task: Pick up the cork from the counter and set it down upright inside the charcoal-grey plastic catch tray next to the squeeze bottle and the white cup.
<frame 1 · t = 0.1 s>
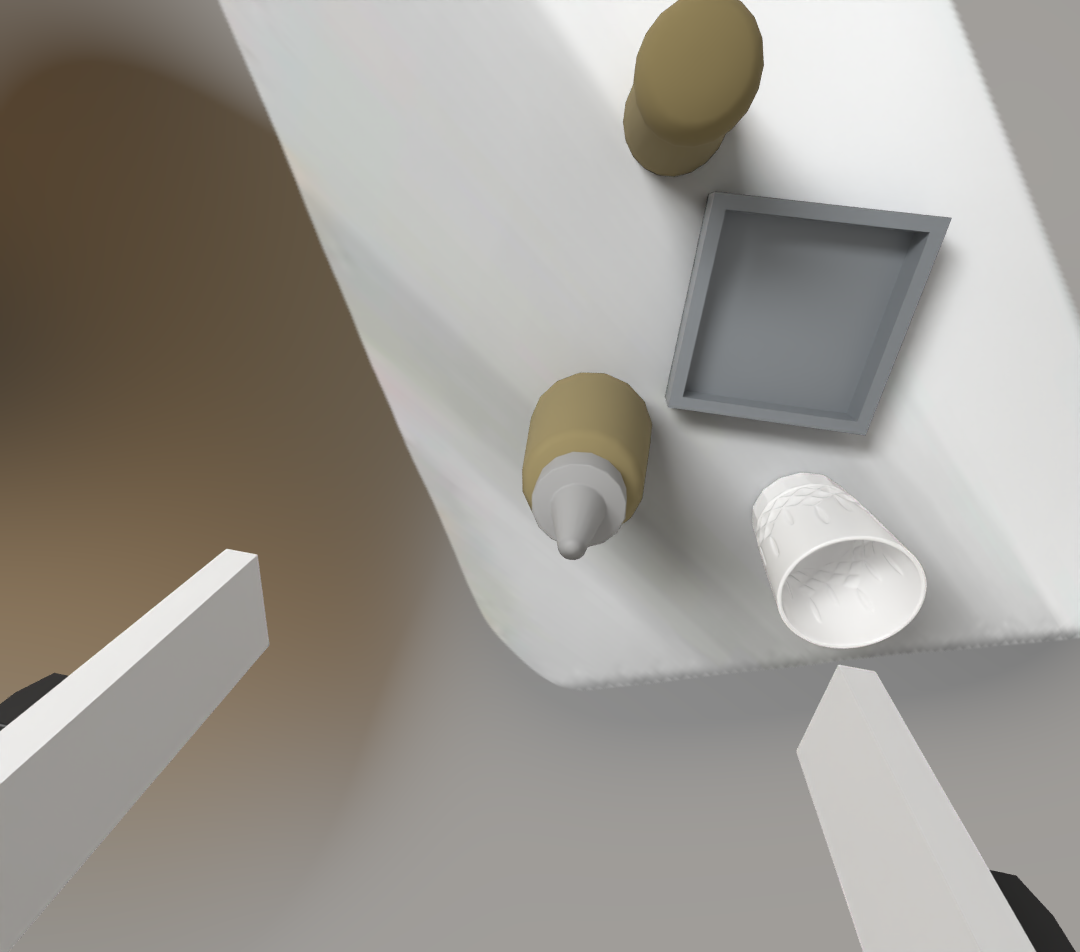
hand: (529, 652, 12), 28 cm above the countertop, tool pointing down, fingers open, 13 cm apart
cork: (676, 117, 31), on the countertop
white cup: (797, 511, 40), on the countertop
catch tray: (784, 315, 34), on the countertop
squeeze bottle: (593, 414, 39), on the countertop
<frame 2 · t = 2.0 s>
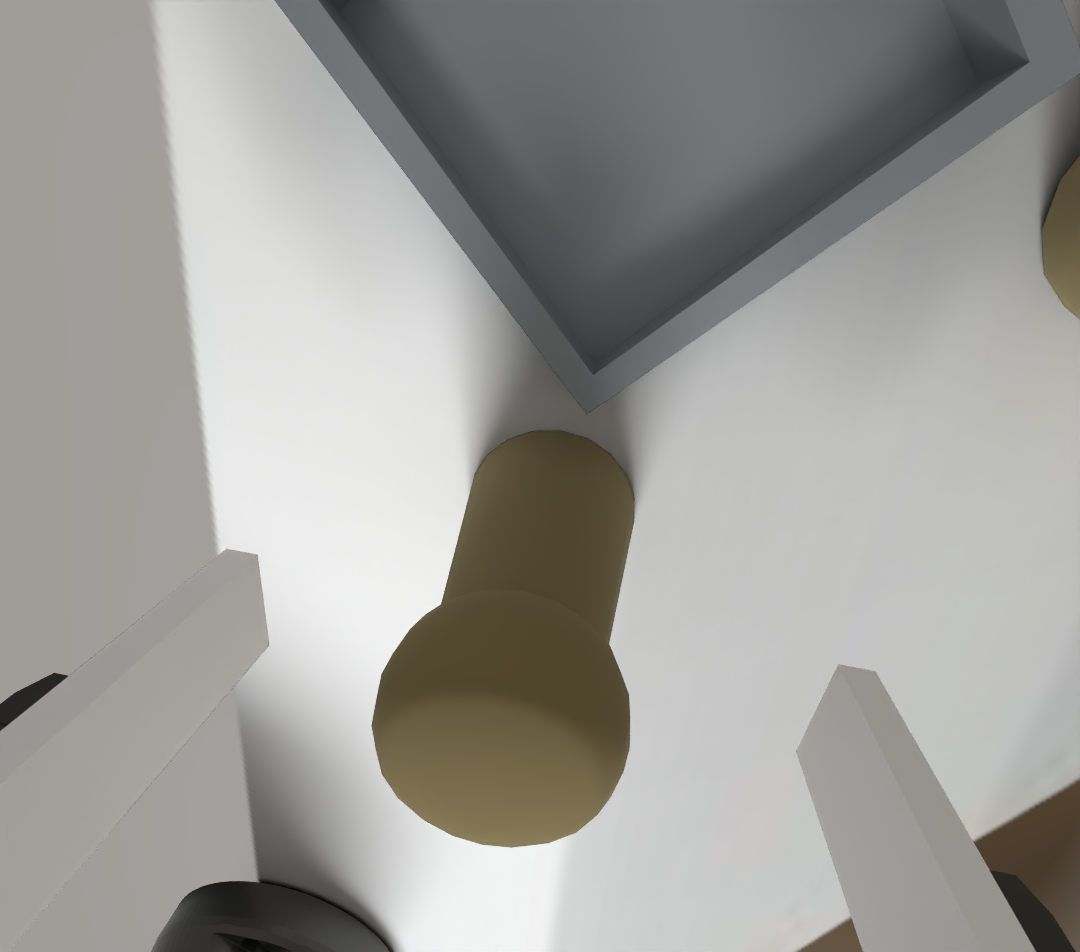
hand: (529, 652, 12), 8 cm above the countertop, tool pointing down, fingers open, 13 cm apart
cork: (551, 506, 20), on the countertop
catch tray: (645, 56, 14), on the countertop
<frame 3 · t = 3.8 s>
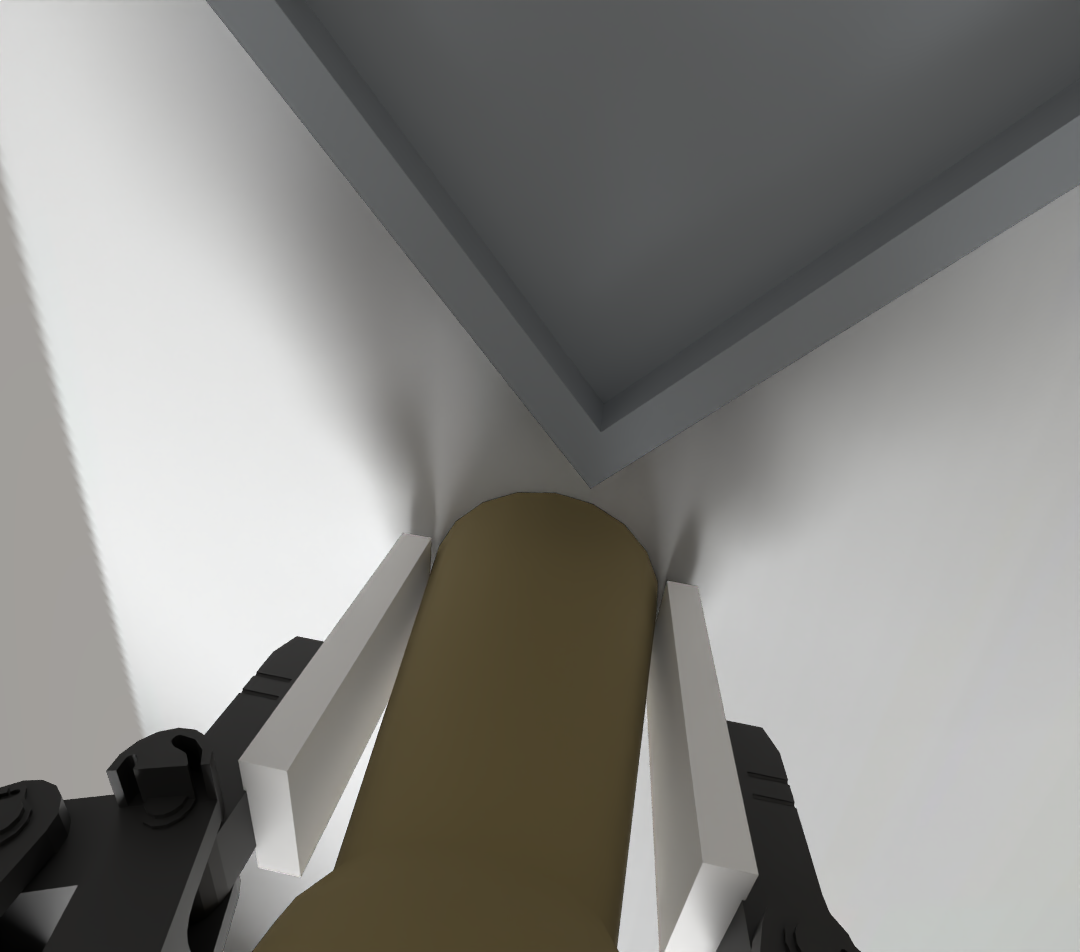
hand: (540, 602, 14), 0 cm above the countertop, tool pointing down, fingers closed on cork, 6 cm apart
cork: (543, 588, 14), on the countertop, touching gripper
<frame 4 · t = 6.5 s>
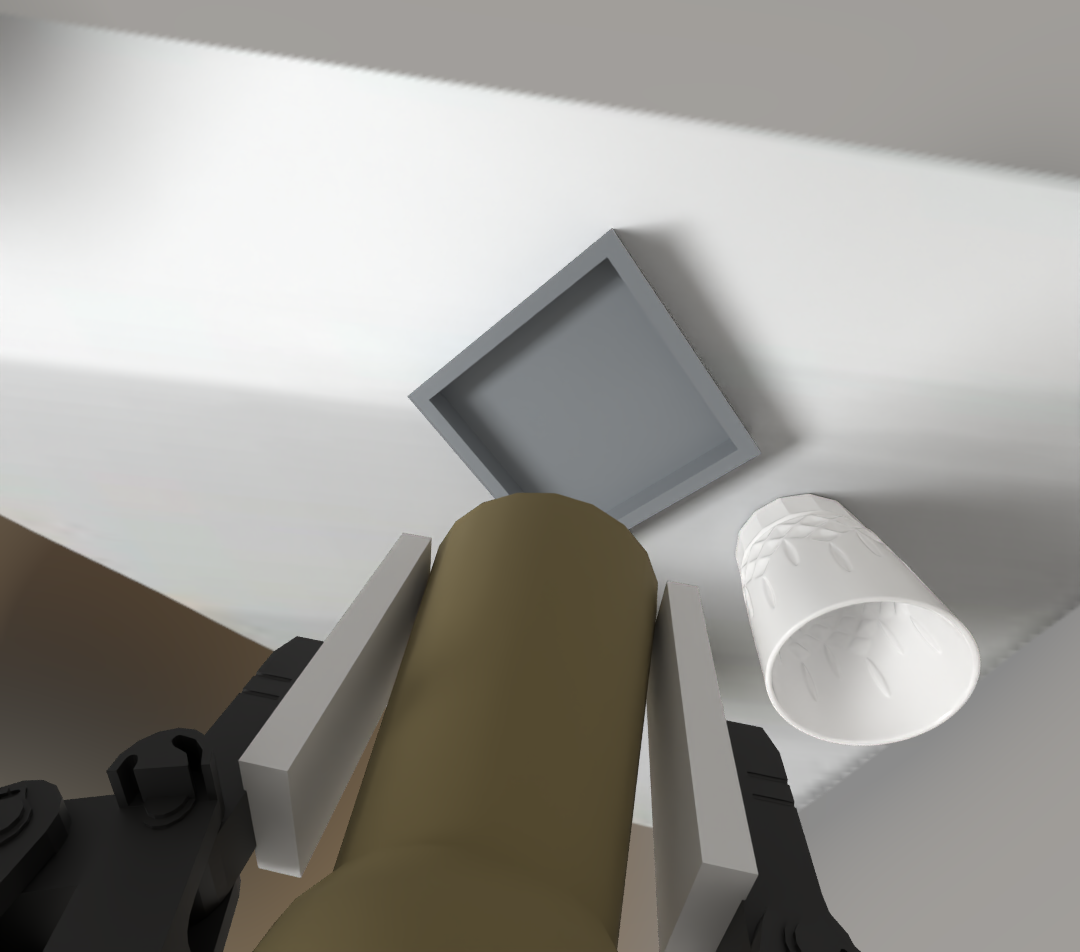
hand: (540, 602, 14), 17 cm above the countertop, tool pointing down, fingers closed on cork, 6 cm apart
cork: (543, 588, 14), point 16 cm above the countertop, touching gripper
white cup: (795, 543, 31), on the countertop
catch tray: (583, 409, 29), on the countertop
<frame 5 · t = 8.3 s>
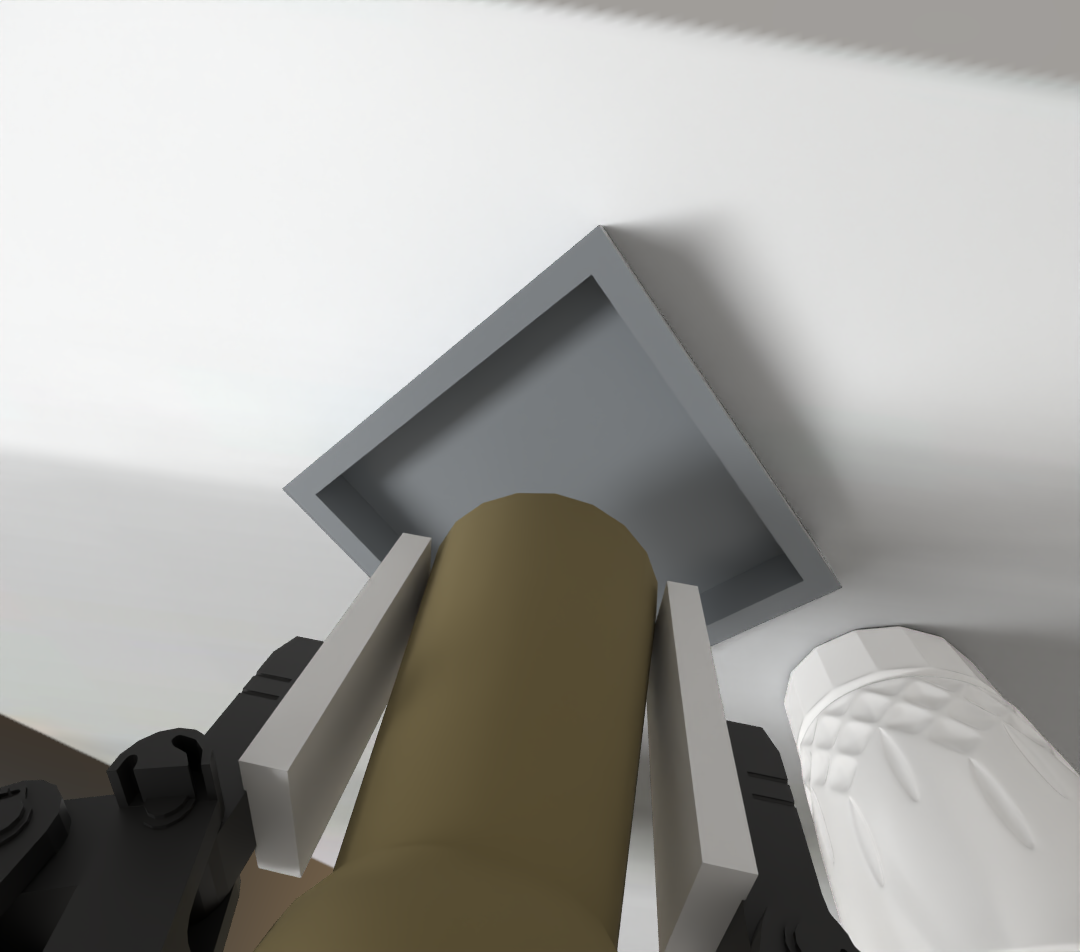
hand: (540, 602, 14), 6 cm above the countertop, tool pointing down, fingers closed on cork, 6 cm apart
cork: (543, 589, 14), point 5 cm above the countertop, touching gripper
white cup: (872, 688, 21), on the countertop
catch tray: (559, 499, 19), on the countertop
when the fingers open (3 cm above the countertop, at t = 9.7 s): cork drops 1 cm, resting on catch tray.
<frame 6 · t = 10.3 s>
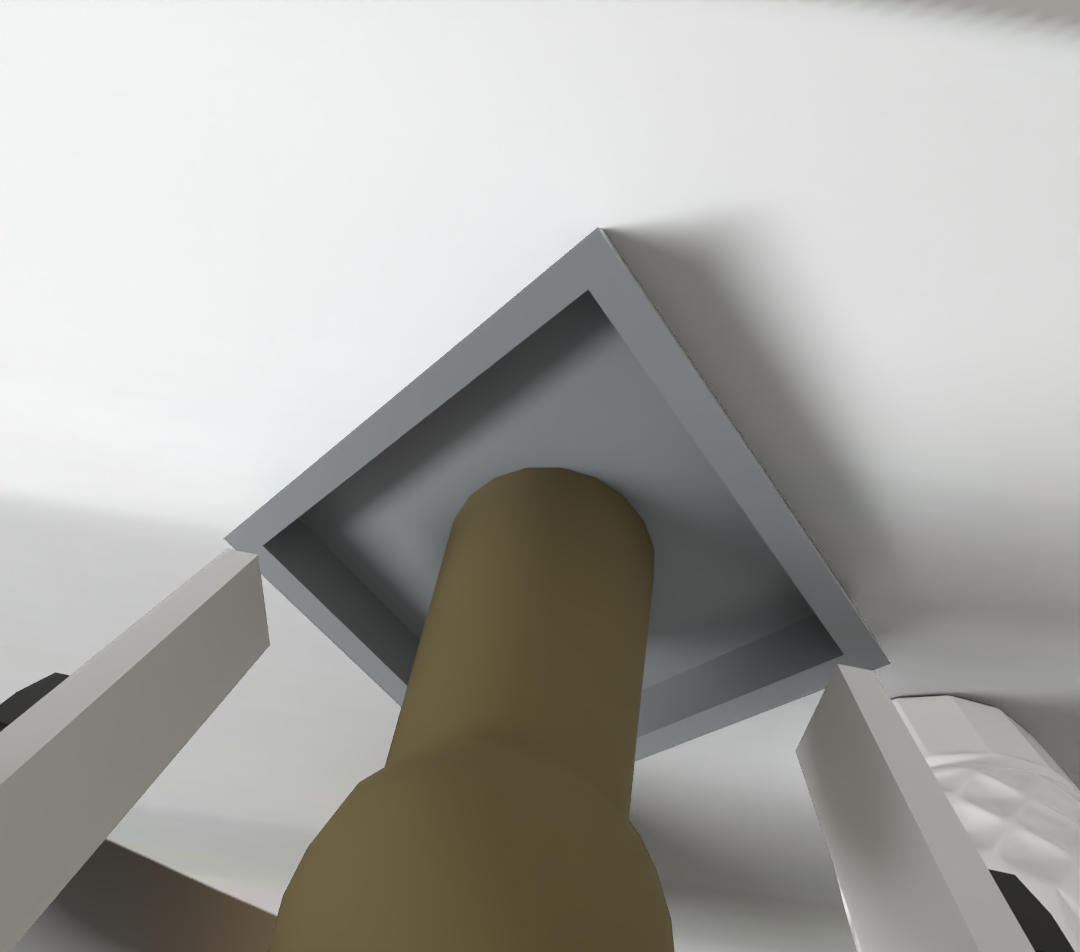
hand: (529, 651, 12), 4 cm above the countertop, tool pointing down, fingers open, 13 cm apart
cork: (550, 558, 16), point 1 cm above the countertop, touching catch tray
white cup: (913, 761, 18), on the countertop
catch tray: (552, 547, 16), on the countertop
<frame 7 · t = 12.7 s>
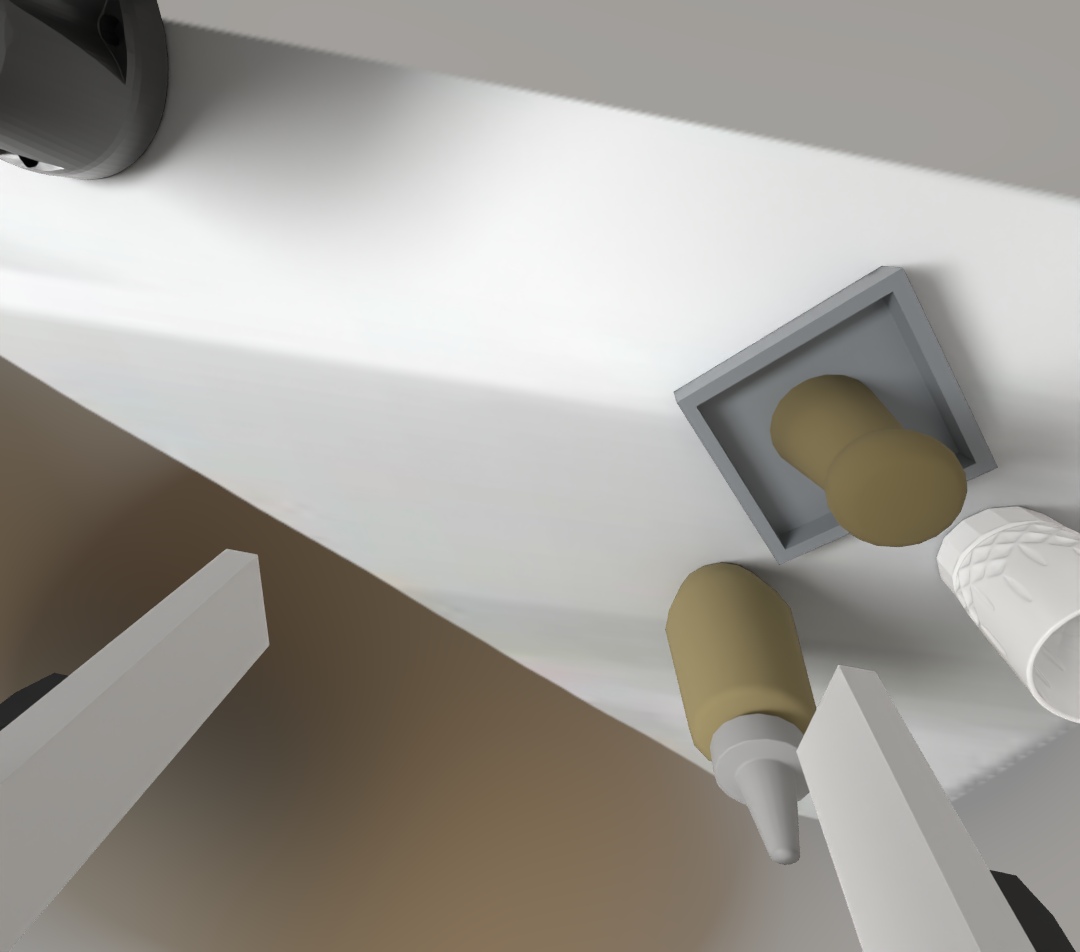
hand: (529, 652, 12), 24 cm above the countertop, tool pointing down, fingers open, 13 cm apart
cork: (822, 423, 32), point 1 cm above the countertop, touching catch tray
white cup: (993, 551, 34), on the countertop
catch tray: (819, 421, 32), on the countertop
squeeze bottle: (720, 594, 39), on the countertop
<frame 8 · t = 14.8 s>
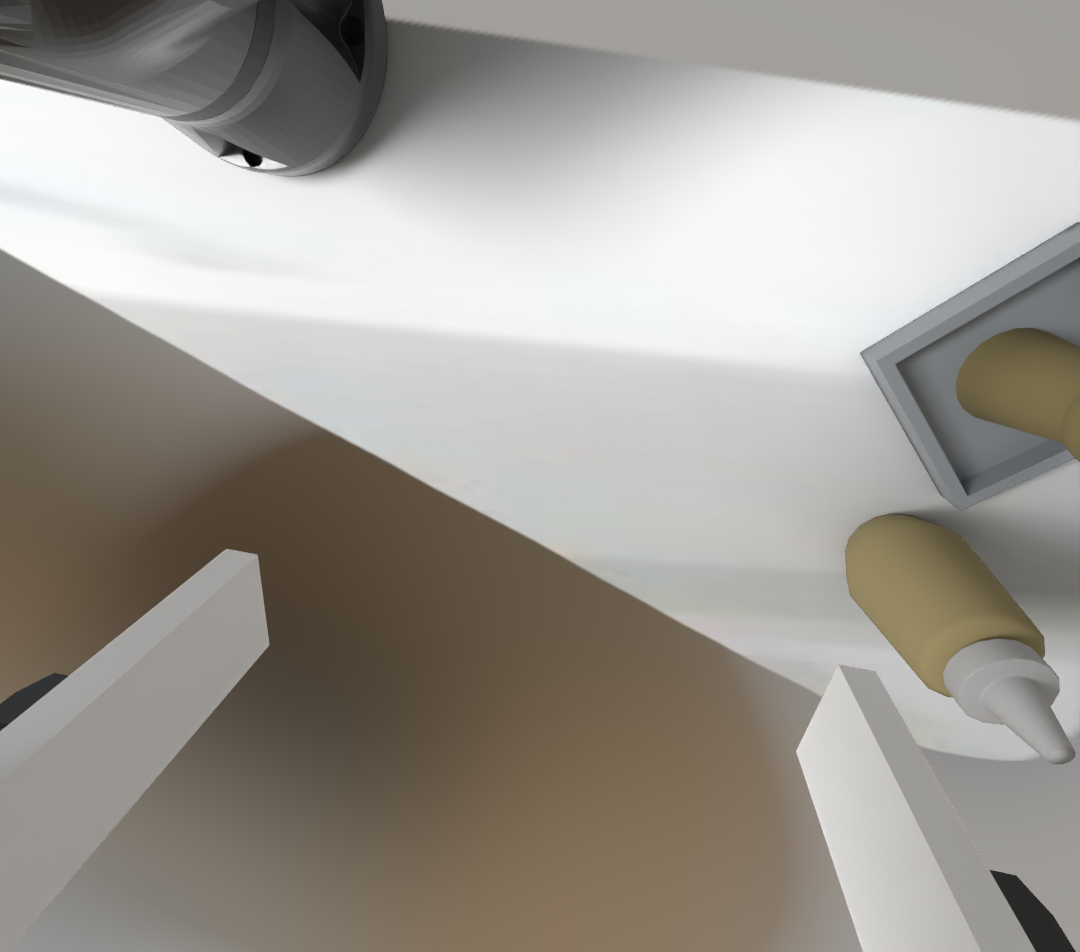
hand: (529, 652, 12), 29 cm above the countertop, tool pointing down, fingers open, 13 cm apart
cork: (1007, 375, 34), point 1 cm above the countertop, touching catch tray
catch tray: (1001, 373, 35), on the countertop
squeeze bottle: (885, 545, 41), on the countertop
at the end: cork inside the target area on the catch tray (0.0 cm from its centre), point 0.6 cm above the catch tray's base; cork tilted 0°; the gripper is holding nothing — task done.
